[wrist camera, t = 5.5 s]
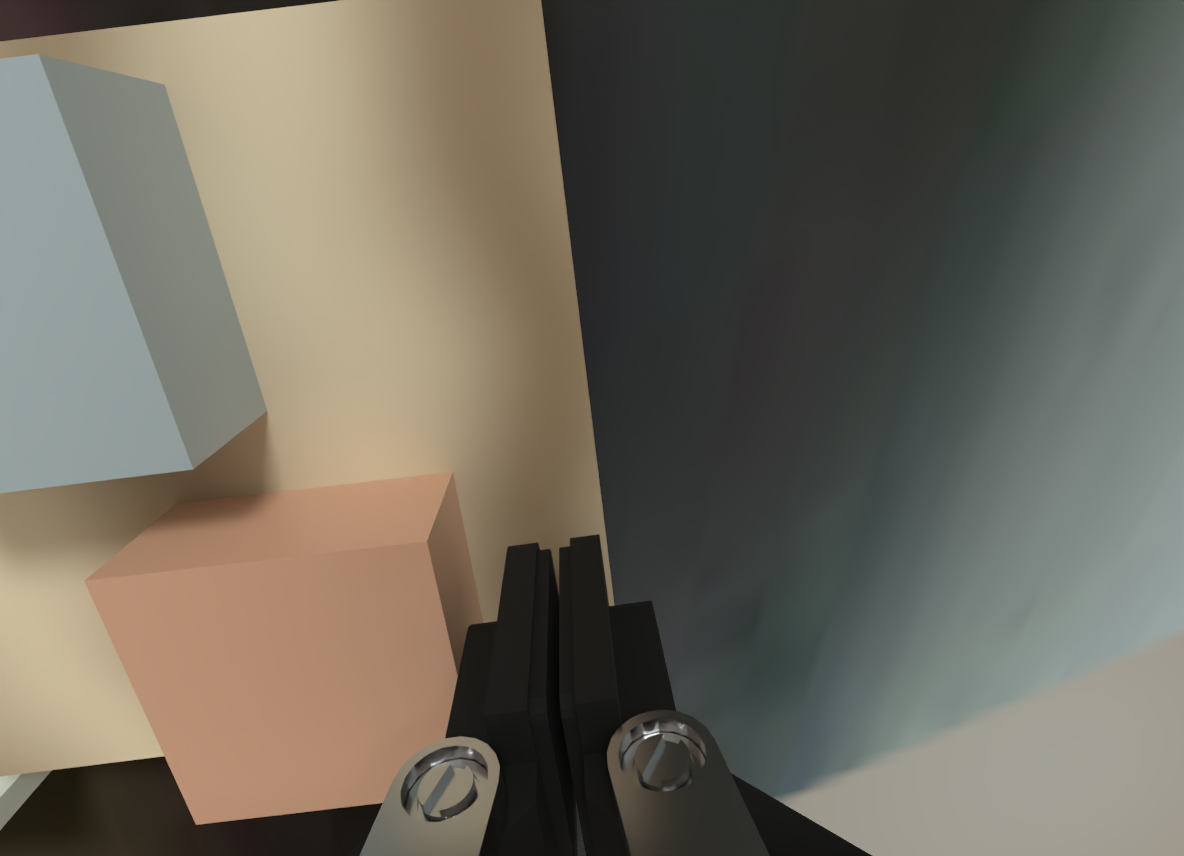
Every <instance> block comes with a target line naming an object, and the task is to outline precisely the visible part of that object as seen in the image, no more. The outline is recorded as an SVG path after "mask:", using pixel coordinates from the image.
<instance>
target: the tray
mask: <svg viewBox="0 0 1184 856" xmlns="http://www.w3.org/2000/svg"><path fill="white" fill-rule="evenodd" d="M51 771H52V770H49V771H41V772H33V773H25V774H17V775H9V776H1V777H0V830H1V829H2V828H3V826H4V825H5V824H6V823H7V822H8V821H9V820H10V818H11V817H12V816H13V815H14V814H15V813H16V811H17V810H18V809H19V808H20V807H21V806H22V804H23V803H24V802H25V801H26V800H27V799H28V797H29V796H30V795H31V794H32V793H33V792H34V790H35V789H36V788H37V787H38V786H39V785H40V783H41V782H42V781H43V780H44V779H45V778H46V776H47V775H48V774H49V773H50V772H51Z"/></svg>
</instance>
